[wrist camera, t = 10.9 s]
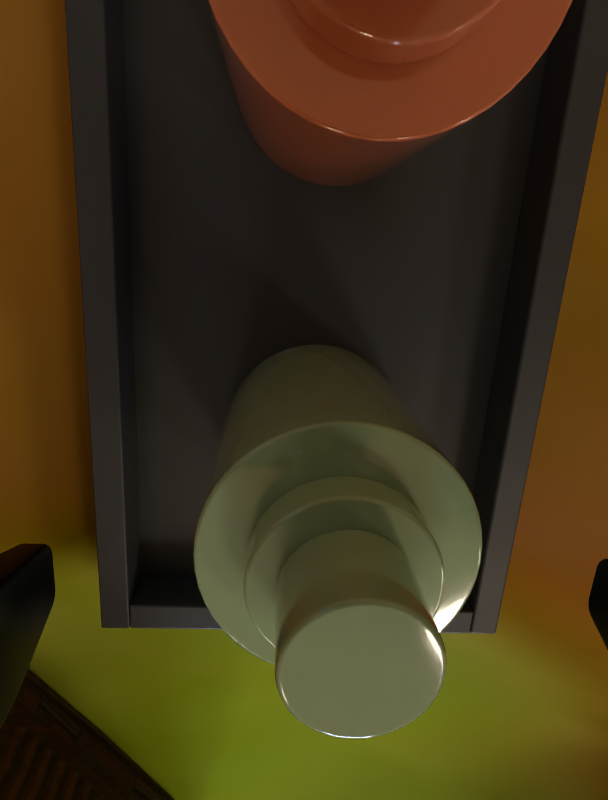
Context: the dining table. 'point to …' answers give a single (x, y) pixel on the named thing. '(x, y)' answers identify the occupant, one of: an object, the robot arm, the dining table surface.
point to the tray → (305, 281)
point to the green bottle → (336, 541)
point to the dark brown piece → (63, 754)
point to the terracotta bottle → (373, 74)
